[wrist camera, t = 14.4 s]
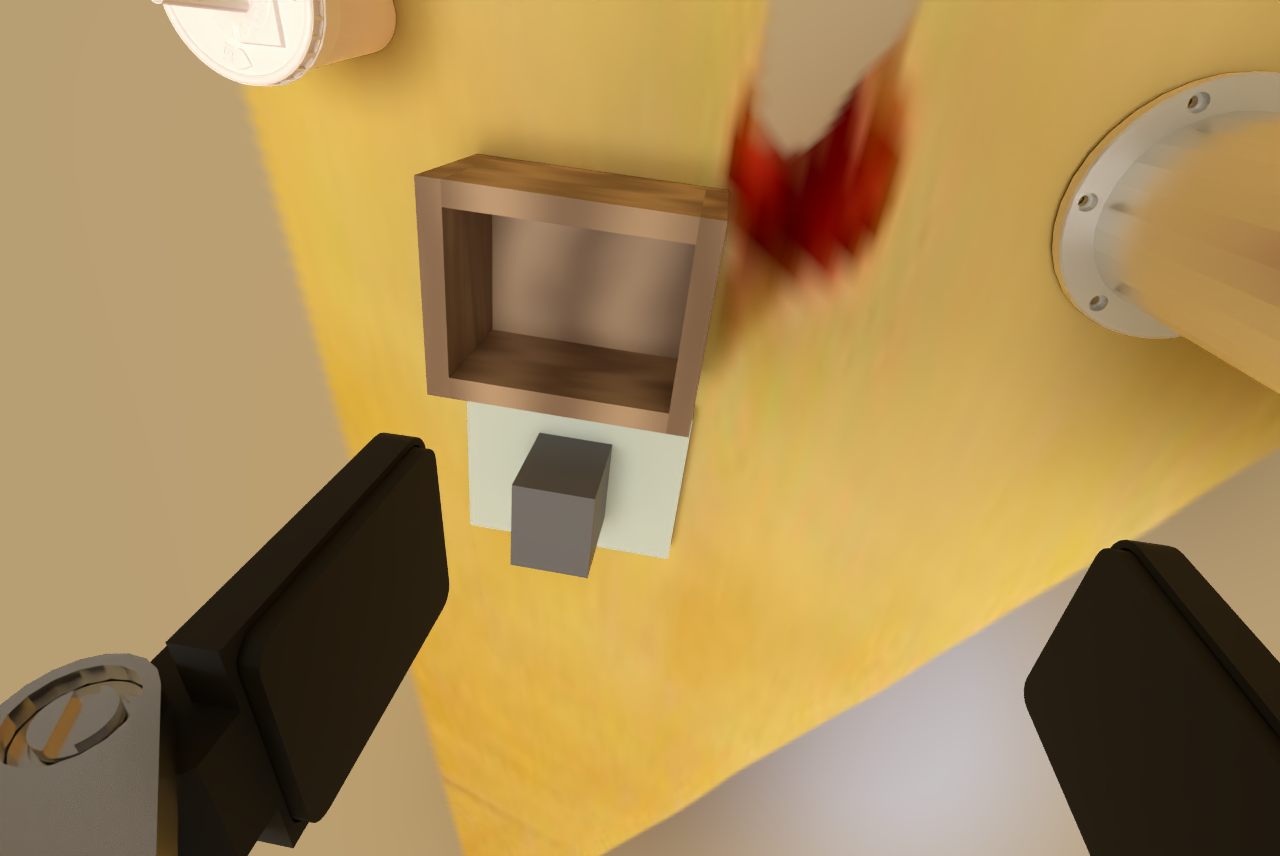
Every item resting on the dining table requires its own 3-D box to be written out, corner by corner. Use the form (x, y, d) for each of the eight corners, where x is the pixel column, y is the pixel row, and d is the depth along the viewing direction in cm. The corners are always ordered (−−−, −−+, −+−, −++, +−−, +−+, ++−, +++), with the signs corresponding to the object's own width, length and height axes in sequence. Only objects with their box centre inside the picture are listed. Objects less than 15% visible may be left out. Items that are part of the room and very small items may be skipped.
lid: (694, 403, 41) (686, 474, 34) (670, 539, 47) (659, 622, 40) (478, 369, 42) (427, 430, 35) (480, 506, 48) (437, 583, 41)
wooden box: (728, 190, 34) (727, 221, 27) (696, 373, 40) (688, 437, 33) (476, 153, 35) (414, 174, 28) (479, 338, 41) (427, 394, 34)
